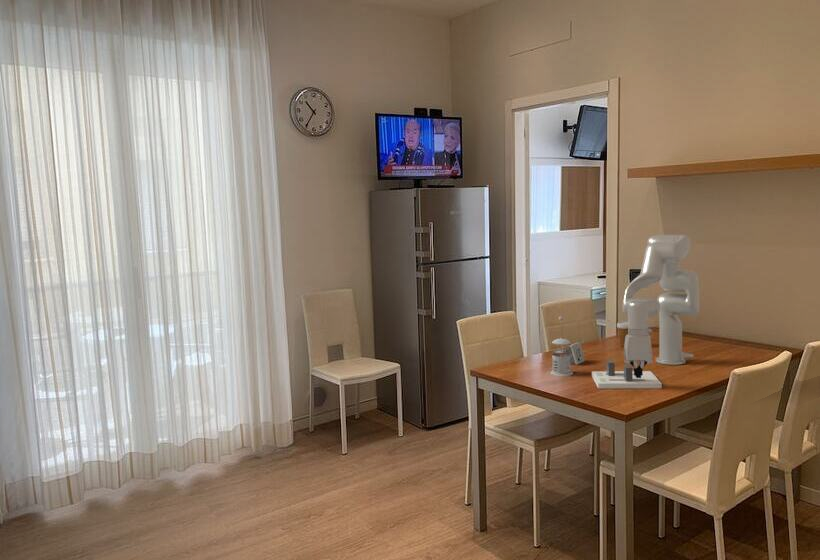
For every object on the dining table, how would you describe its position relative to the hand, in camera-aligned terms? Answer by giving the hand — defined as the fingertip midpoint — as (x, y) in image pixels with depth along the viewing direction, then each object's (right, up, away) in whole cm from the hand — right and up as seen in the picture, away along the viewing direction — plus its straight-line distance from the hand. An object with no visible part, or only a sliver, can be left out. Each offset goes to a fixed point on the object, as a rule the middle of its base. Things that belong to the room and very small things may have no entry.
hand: (638, 377), depth 255 cm
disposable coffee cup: (+19, +5, +70) cm, 73 cm away
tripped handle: (-4, -1, +1) cm, 4 cm away
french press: (-25, -2, +24) cm, 35 cm away
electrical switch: (-14, 0, +41) cm, 43 cm away
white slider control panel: (-3, -3, +5) cm, 7 cm away
